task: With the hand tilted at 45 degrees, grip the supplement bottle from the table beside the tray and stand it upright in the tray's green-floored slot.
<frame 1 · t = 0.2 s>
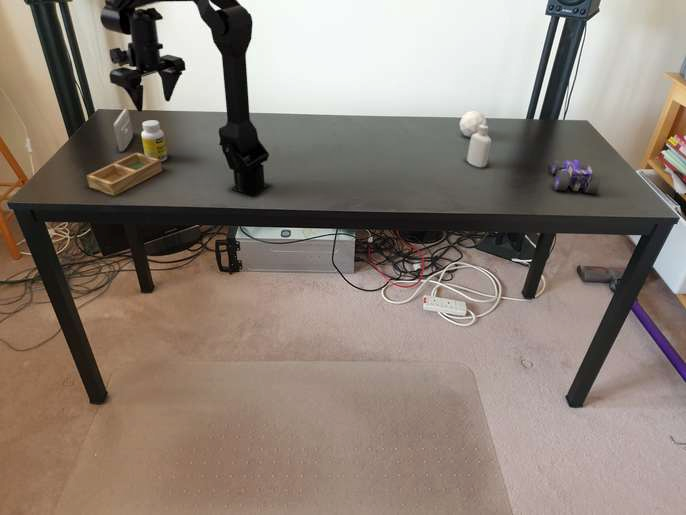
hand: (154, 106, 128), 15 cm above the table, tool pointing down, fingers open, 9 cm apart
geometric ball: (470, 136, 159), on the table
tray: (127, 178, 128), on the table
supplement bottle: (156, 159, 138), on the table
toy race car: (569, 182, 137), on the table
cassette: (126, 143, 145), on the table
eye dropper bottle: (476, 164, 143), on the table
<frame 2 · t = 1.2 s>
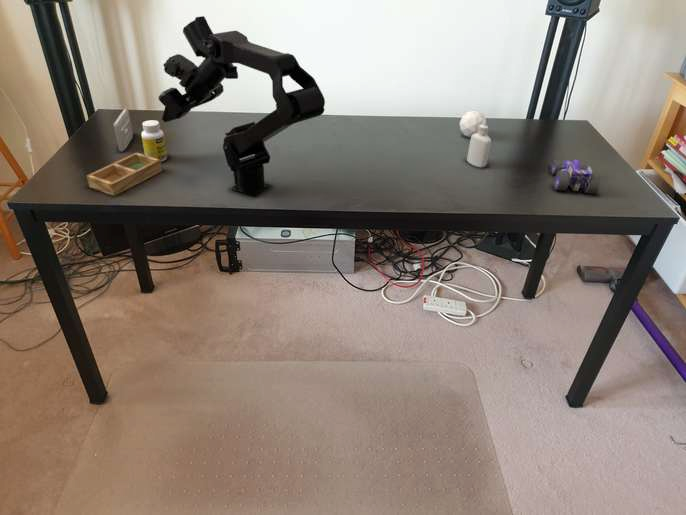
hand: (175, 114, 128), 13 cm above the table, tool tilted 45°, fingers open, 9 cm apart
nothing on the table moved.
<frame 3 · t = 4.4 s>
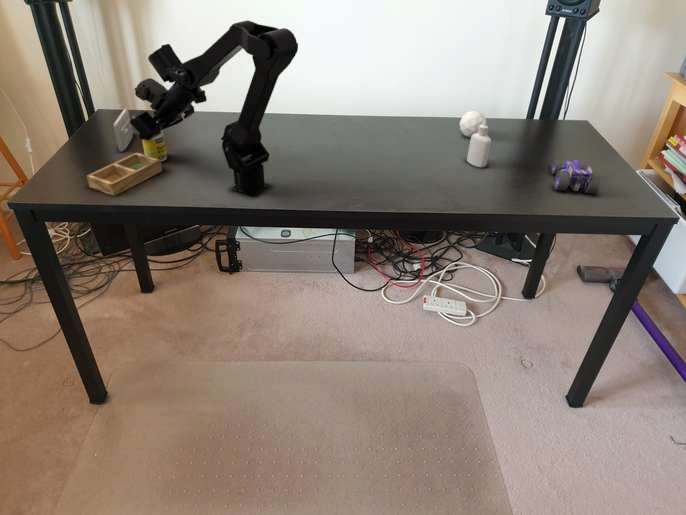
hand: (147, 134, 134), 7 cm above the table, tool tilted 45°, fingers closed on supplement bottle, 5 cm apart
supplement bottle: (156, 159, 138), on the table, touching gripper
everything else where it was.
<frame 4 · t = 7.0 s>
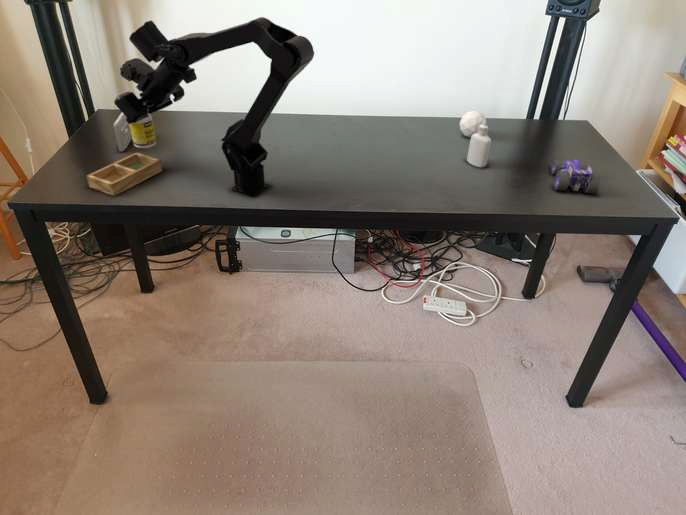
hand: (135, 118, 128), 12 cm above the table, tool tilted 45°, fingers closed on supplement bottle, 5 cm apart
supplement bottle: (145, 145, 131), point 5 cm above the table, touching gripper
everything else where it was.
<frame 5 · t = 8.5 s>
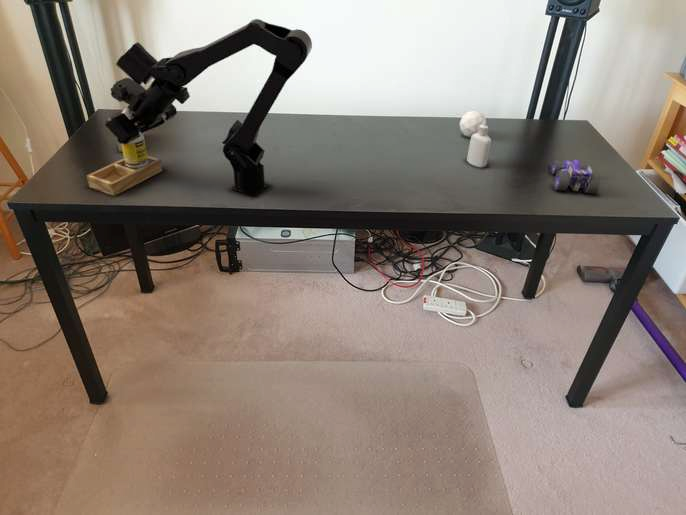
hand: (127, 137, 126), 9 cm above the table, tool tilted 45°, fingers closed on supplement bottle, 5 cm apart
supplement bottle: (137, 164, 129), point 2 cm above the table, touching gripper
everything else where it was.
when the fingers open (7 cm above the table, at t = 9.6 s): supplement bottle stays where it is, resting on tray.
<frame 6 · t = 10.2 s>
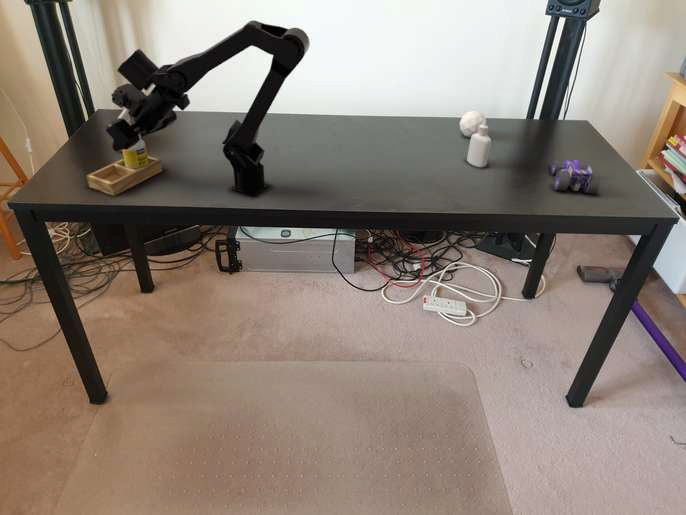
hand: (127, 142, 126), 8 cm above the table, tool tilted 45°, fingers open, 9 cm apart
supplement bottle: (138, 171, 130), point 1 cm above the table, touching tray
everything else where it was.
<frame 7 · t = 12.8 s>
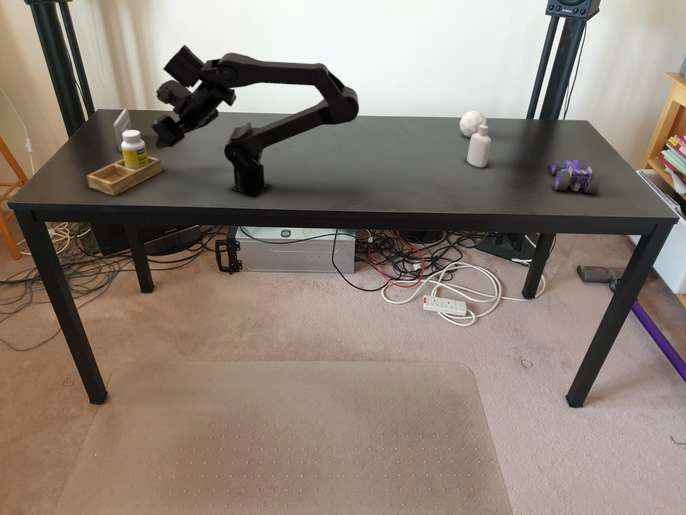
hand: (168, 140, 124), 10 cm above the table, tool tilted 45°, fingers open, 9 cm apart
nothing on the table moved.
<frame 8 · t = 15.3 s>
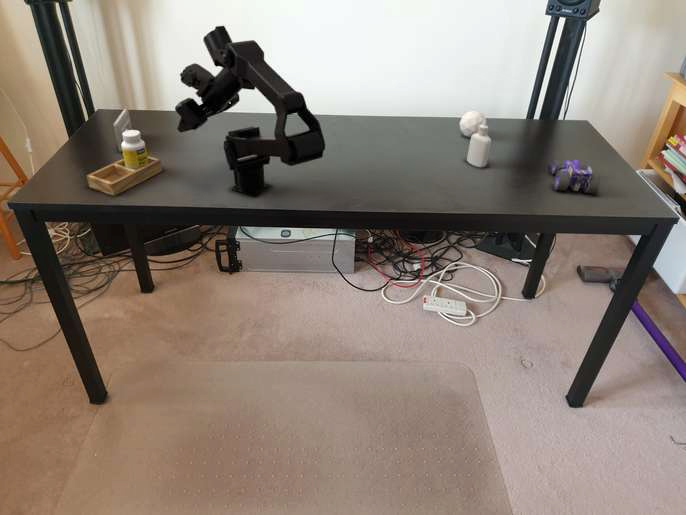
hand: (190, 124, 125), 13 cm above the table, tool tilted 45°, fingers open, 9 cm apart
nothing on the table moved.
at the end: supplement bottle 0.2 cm from the target spot in the tray, point 0.5 cm above the tray's base; supplement bottle tilted 0°; the gripper is holding nothing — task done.
